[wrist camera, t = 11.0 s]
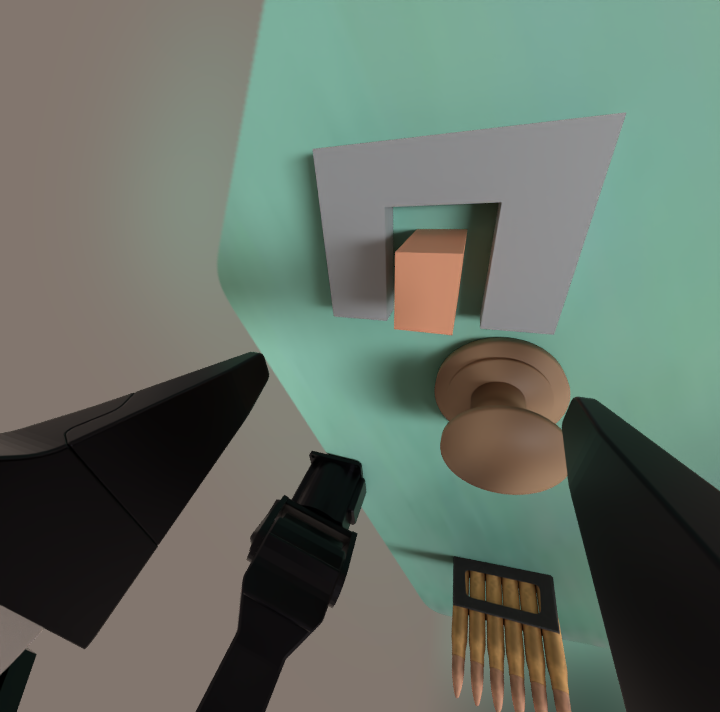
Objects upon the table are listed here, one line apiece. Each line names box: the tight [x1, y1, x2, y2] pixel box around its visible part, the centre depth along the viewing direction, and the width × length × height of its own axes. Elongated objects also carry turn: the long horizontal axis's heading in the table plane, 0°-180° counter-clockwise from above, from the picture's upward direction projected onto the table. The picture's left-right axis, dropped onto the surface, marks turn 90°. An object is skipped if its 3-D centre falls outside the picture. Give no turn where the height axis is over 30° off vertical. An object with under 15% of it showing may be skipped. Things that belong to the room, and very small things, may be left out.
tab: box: [394, 229, 467, 335], centre depth 16 cm, size 3×4×6 cm
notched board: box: [313, 113, 626, 335], centre depth 17 cm, size 14×10×2 cm
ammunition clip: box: [452, 556, 571, 712], centre depth 30 cm, size 11×2×12 cm, turn 108°
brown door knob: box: [435, 337, 570, 495], centre depth 20 cm, size 9×9×6 cm
